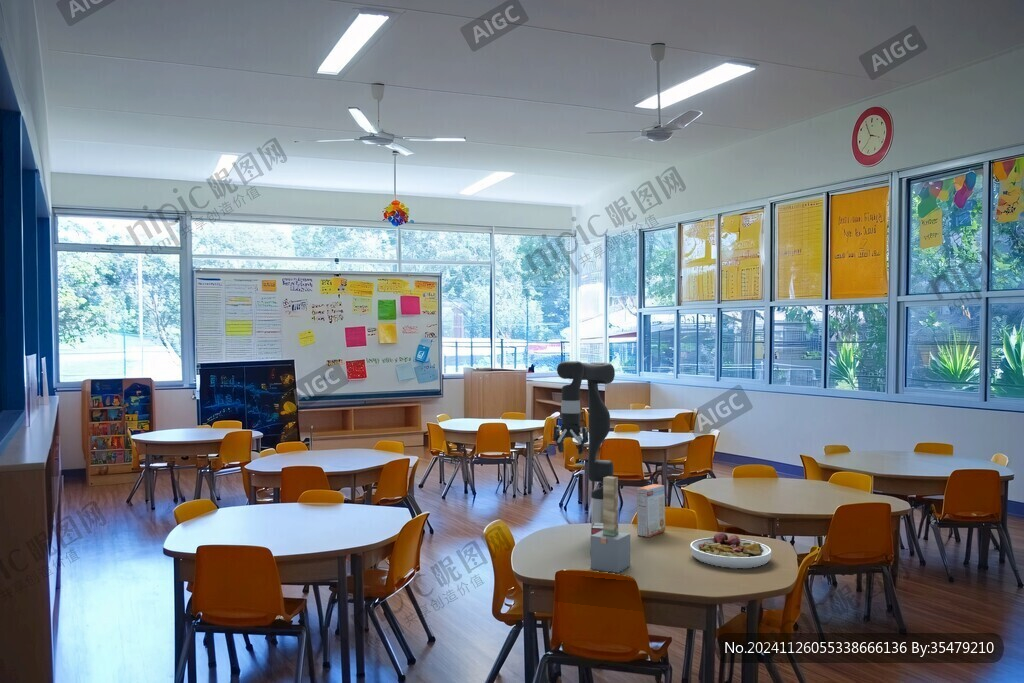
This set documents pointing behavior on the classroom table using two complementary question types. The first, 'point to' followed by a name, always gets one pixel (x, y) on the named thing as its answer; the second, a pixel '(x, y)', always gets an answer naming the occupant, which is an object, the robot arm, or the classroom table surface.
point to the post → (610, 506)
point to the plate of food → (730, 551)
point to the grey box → (610, 552)
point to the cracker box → (650, 510)
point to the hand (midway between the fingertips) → (570, 453)
